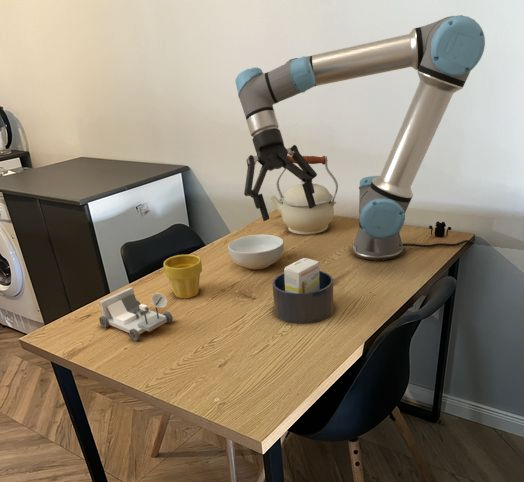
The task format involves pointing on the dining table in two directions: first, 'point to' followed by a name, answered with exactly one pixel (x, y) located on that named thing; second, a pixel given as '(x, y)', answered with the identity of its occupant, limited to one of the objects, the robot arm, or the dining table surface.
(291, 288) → the ink box
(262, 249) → the cereal bowl
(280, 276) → the dark blue round tub
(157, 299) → the toy car
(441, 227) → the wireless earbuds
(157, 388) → the dining table surface
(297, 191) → the kettle
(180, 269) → the flower pot
